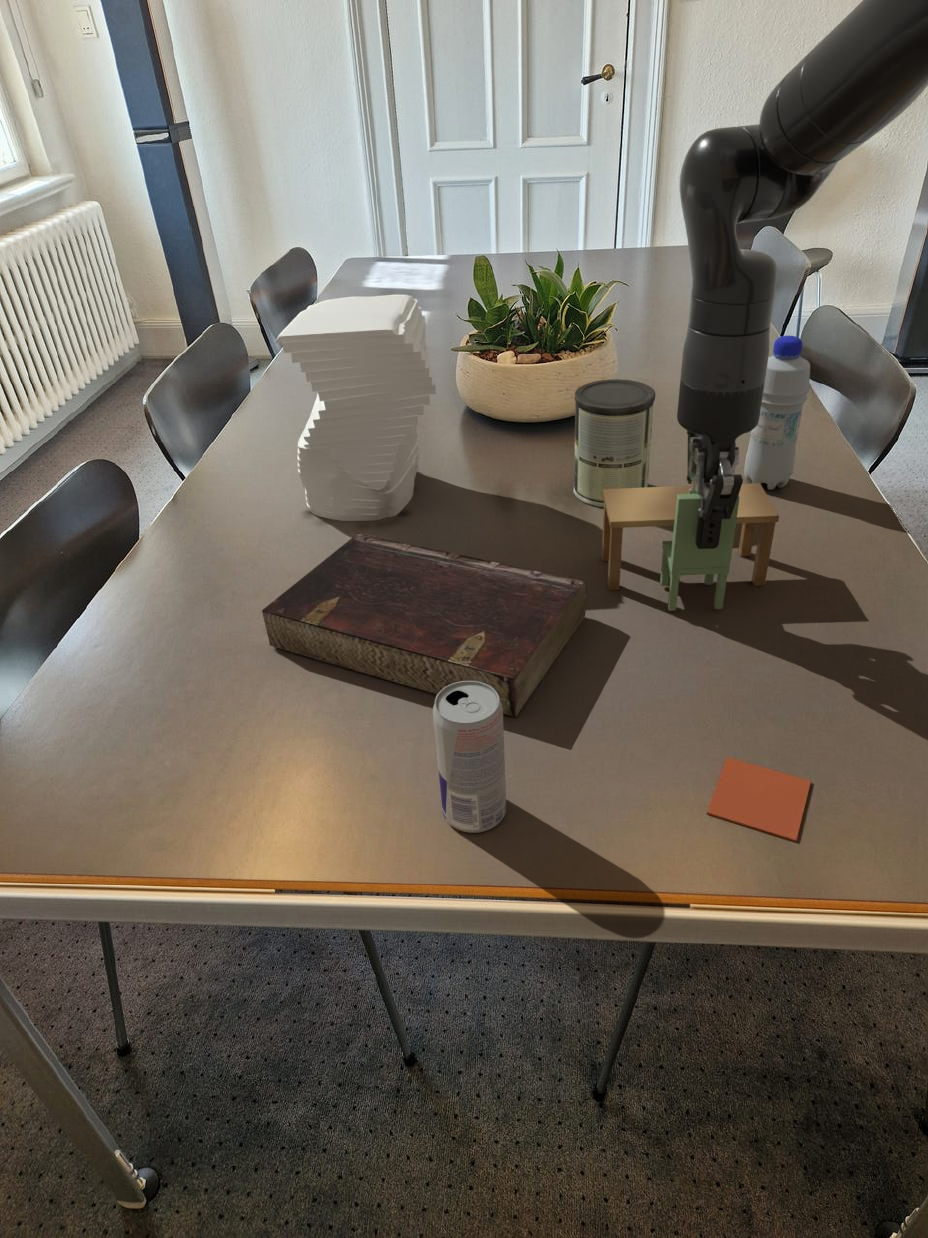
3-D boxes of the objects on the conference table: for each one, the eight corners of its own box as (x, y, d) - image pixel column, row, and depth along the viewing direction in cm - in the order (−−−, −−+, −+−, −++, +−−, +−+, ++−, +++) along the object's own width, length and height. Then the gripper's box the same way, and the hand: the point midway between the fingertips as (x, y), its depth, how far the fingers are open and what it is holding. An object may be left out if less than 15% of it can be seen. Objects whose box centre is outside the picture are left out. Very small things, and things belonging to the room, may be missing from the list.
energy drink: (474, 777, 74) (467, 670, 67) (519, 809, 71) (517, 699, 64) (429, 812, 71) (417, 702, 64) (474, 846, 68) (466, 735, 61)
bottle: (731, 483, 117) (751, 337, 106) (758, 467, 121) (780, 325, 110) (774, 498, 113) (800, 348, 102) (801, 481, 117) (829, 334, 105)
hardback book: (585, 615, 93) (586, 577, 91) (515, 720, 80) (514, 679, 77) (364, 564, 105) (359, 528, 102) (270, 648, 92) (261, 610, 89)
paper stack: (280, 531, 113) (241, 337, 99) (345, 448, 135) (320, 279, 120) (433, 540, 109) (416, 339, 94) (475, 453, 130) (466, 278, 116)
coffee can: (561, 482, 121) (562, 386, 113) (627, 470, 123) (632, 374, 115) (591, 514, 112) (595, 412, 104) (661, 499, 115) (670, 398, 107)
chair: (711, 580, 97) (726, 471, 89) (723, 609, 92) (740, 497, 84) (658, 581, 97) (668, 473, 90) (667, 611, 93) (679, 499, 85)
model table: (749, 550, 103) (760, 482, 98) (767, 586, 96) (779, 515, 91) (599, 555, 104) (602, 488, 99) (607, 591, 97) (610, 521, 92)
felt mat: (810, 782, 72) (811, 780, 71) (796, 842, 67) (796, 840, 66) (726, 758, 74) (727, 757, 74) (706, 814, 69) (706, 812, 69)
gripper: (786, 400, 72) (757, 573, 82) (745, 348, 84) (724, 506, 93) (696, 404, 73) (678, 575, 82) (668, 352, 84) (655, 508, 94)
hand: (703, 537), depth 88 cm, fingers open, 3 cm apart
